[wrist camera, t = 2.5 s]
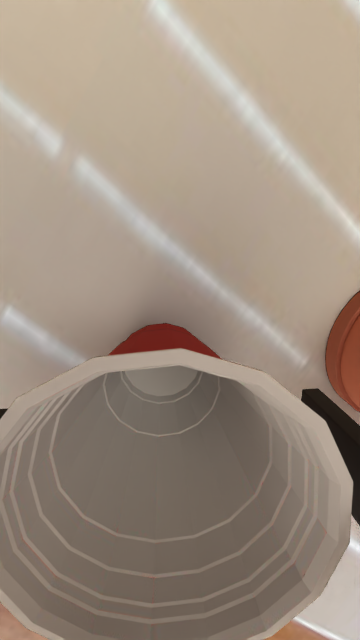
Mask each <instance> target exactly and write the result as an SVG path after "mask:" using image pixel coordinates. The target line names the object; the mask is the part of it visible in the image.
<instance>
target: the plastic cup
mask: <svg viewBox="0 0 360 640" xmlns="http://www.w3.org/2000/svg"><path fill="white" fill-rule="evenodd" d="M352 494H353V480H352V478H351V476H350V474H349V471H348V469H347V467H346V465H345V463H344V460H343V458H342V456H341V454H340V452H339V449H338V447H337V445H336V443H335V441H334V438H333V436H332V434H331V432H330V429H329V427H328V425H327V423H326V421H325V420H324V419H323V418H321V417H320V416H319V415H318V414H316V413H315V412H314V411H313V410H311V409H310V408H309V407H308V406H307V405H305V404H304V403H303V402H302V401H300V400H299V399H298V398H297V397H296V396H294V395H293V394H292V393H291V392H289V391H288V390H287V389H286V388H284V387H283V386H282V385H281V384H280V383H278V382H277V381H276V380H275V379H273V378H272V377H271V376H270V375H268V374H267V373H266V372H263V371H260V370H258V369H254V368H250V367H247V366H243V365H240V364H236V363H233V362H229V361H226V360H222V359H221V358H220V357H219V356H218V355H217V354H216V353H215V352H213V351H212V350H211V349H210V348H209V347H207V346H206V345H205V344H203V343H202V342H201V341H200V340H198V339H197V338H196V337H195V336H193V335H192V334H191V333H190V332H188V331H187V330H186V329H184V328H182V327H178V326H175V325H171V324H167V323H163V324H154V325H147V326H146V327H144V328H142V329H140V330H138V331H136V332H134V333H132V334H131V335H130V337H129V338H128V339H127V340H126V341H124V342H122V343H121V344H120V345H118V346H117V347H116V348H115V349H114V350H113V351H112V352H111V353H110V354H109V355H108V356H98V357H94V358H91V359H89V360H87V361H86V362H84V363H82V364H80V365H78V366H76V367H74V368H72V369H70V370H68V371H67V372H65V373H63V374H61V375H59V376H57V377H55V378H53V379H51V380H49V381H48V382H46V383H44V384H42V385H40V386H38V387H36V388H34V389H32V390H30V391H29V392H27V393H25V394H23V395H21V396H19V397H17V398H16V399H15V401H14V402H13V403H12V405H11V406H10V407H9V409H8V410H7V411H6V412H5V414H4V415H3V416H2V418H1V419H0V602H1V603H2V604H3V605H4V606H5V607H6V608H7V609H8V611H9V612H10V613H11V614H12V615H13V616H14V617H15V618H16V619H17V620H18V621H19V622H20V623H21V624H22V625H23V626H24V627H25V628H27V629H29V630H31V631H33V632H35V633H37V634H39V635H41V636H43V637H45V638H47V639H49V640H263V639H266V638H268V637H271V636H273V635H274V634H275V633H276V632H277V631H279V630H280V629H281V628H282V627H283V626H285V625H286V624H287V623H288V622H289V621H291V620H292V619H293V618H294V617H295V616H297V615H298V614H299V613H300V612H301V611H303V610H304V609H305V608H306V607H307V606H309V605H310V604H311V603H312V602H313V601H315V600H316V599H317V598H318V597H319V596H320V595H321V594H322V592H323V590H324V588H325V586H326V585H327V583H328V581H329V579H330V577H331V575H332V574H333V572H334V570H335V568H336V566H337V565H338V563H339V561H340V559H341V557H342V556H343V554H344V552H345V550H346V548H347V547H348V545H349V543H350V527H351V511H352Z"/></svg>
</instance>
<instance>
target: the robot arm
mask: <svg viewBox="0 0 360 640" xmlns="http://www.w3.org/2000/svg"><path fill="white" fill-rule="evenodd" d="M301 401H302V402H303V403H304V404H305V405H307V406H308V407H309V408H310V409H311V410H313V411H314V412H315V413H316V414H318V415H319V416H320V417H321V418H323V419H324V420H325V421H326V423H327V425H328V427H329V429H330V432H331V434H332V436H333V438H334V441H335V443H336V445H337V447H338V449H339V452H340V454H341V456H342V458H343V460H344V463H345V465H346V467H347V469H348V471H349V474H350V476H351V478H352V480H353V494H352V511H351V514H352V516H353V517H354V519H355V520H356V521H357V523H358V524H359V526H360V426H359V425H358V424H357V423H356V422H355V421H354V420H353V419H352V418H350V417H349V416H348V415H347V414H346V413H345V412H344V411H343V410H342V409H340V408H339V407H338V406H337V405H336V404H335V403H334V402H333V401H332V400H330V399H329V398H328V397H327V396H326V395H325V394H324V393H323V392H321V391H320V390H319V389H303V390H302V399H301ZM7 410H8V409H0V419H1V418H2V416H3V415H4V414H5V412H6V411H7Z"/></svg>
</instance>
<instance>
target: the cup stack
mask: <svg viewBox="0 0 360 640" xmlns="http://www.w3.org/2000/svg"><path fill="white" fill-rule="evenodd" d="M326 369H327V374H328V377H329V380H330V382H331V384H332V386H333V388H334V390H335V391H336V392H337V393H338V395H339V396H340V397H341V398H342V399H344V400H345V401H346V402H347V403H348V404H350V405H351V406H352V407H353V408H354V409H355V410H357V411H359V412H360V291H359V292H358V293H357V294H356V295H355V296H354V297H353V298H352V299H351V300H350V301H349V302H348V304H347V305H346V306H345V308H344V309H343V310H342V312H341V313H340V315H339V316H338V318H337V320H336V322H335V324H334V326H333V328H332V330H331V333H330V336H329V339H328V343H327V348H326Z"/></svg>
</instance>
